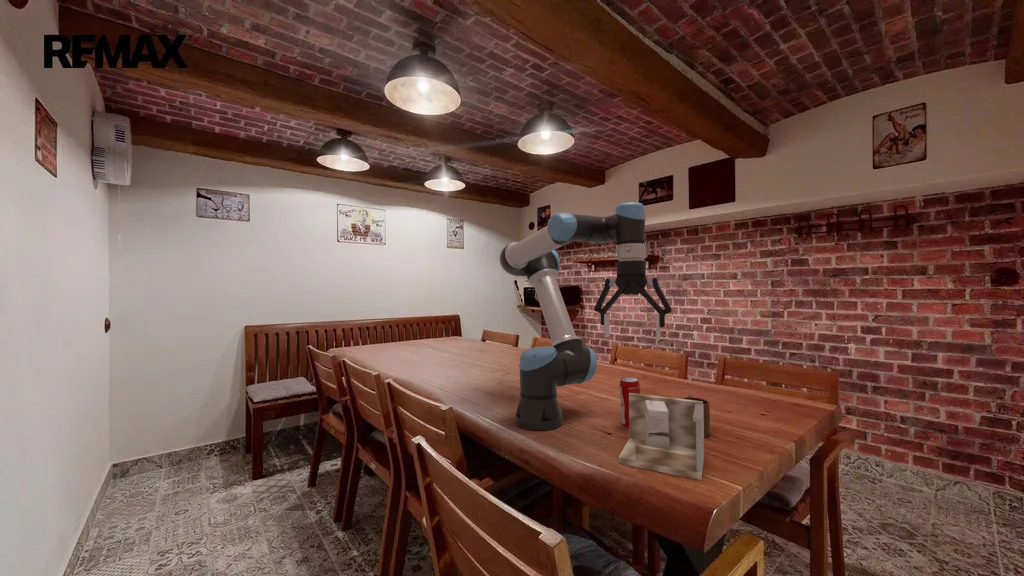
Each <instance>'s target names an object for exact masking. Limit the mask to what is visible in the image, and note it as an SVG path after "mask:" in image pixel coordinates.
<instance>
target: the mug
mask: <svg viewBox="0 0 1024 576" xmlns="http://www.w3.org/2000/svg"><path fill="white" fill-rule="evenodd" d="M681 399H687V400H695V401H703V407H704V438H706V437H709V436H710V434H711V433H710V432H711V416H710V415H711V411H710V410H711V408H710V402H709V400H707V399H703V398H701V397H700V398H699V397H694V396H693V395H688V396H687V397H682V398H681Z"/></svg>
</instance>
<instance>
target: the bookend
mask: <svg viewBox="0 0 1024 576" xmlns="http://www.w3.org/2000/svg"><path fill="white" fill-rule="evenodd" d="M693 421H695V422H696V464H697V471H700V472H702V473H703V471H704V457H705V437H704V407H703V404H700V403H695V409H694V414H693Z"/></svg>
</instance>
